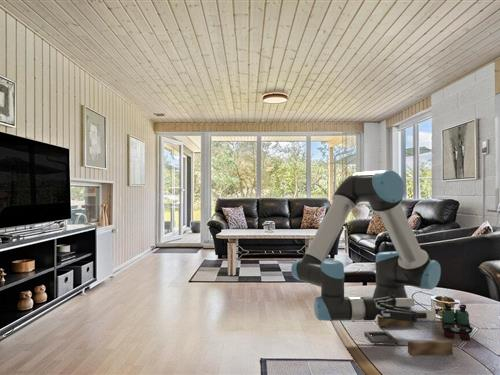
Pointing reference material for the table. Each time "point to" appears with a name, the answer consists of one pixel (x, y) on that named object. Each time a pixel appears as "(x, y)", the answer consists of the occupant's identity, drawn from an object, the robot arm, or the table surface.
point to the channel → (419, 346)
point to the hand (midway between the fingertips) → (424, 308)
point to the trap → (380, 337)
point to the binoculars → (456, 322)
